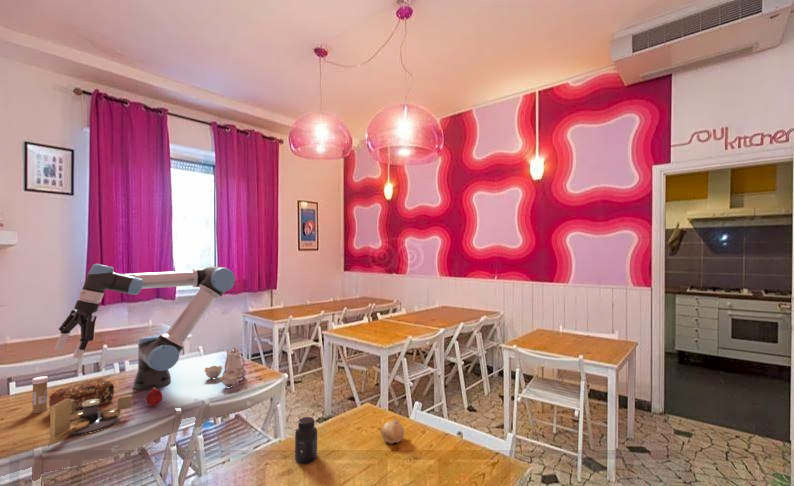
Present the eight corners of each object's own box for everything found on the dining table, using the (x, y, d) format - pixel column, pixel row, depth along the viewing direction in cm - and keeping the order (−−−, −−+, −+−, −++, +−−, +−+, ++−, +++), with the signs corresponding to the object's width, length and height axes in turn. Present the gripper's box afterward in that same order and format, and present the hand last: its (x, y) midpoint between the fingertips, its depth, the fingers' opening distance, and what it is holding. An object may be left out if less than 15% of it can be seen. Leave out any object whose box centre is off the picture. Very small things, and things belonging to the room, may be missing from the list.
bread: (62, 419, 146) (62, 393, 146) (47, 414, 150) (48, 388, 150) (115, 401, 163) (115, 378, 163) (100, 397, 167) (101, 374, 167)
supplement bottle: (290, 461, 118) (290, 422, 118) (304, 450, 124) (304, 413, 124) (308, 466, 115) (308, 427, 115) (321, 455, 121) (321, 417, 121)
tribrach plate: (132, 407, 156) (133, 387, 156) (130, 425, 141) (130, 402, 141) (63, 420, 144) (63, 398, 144) (51, 441, 129) (52, 416, 129)
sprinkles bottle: (46, 411, 152) (46, 378, 152) (30, 414, 149) (30, 380, 149) (48, 407, 155) (48, 374, 155) (33, 410, 153) (33, 377, 153)
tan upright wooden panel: (75, 423, 138) (76, 390, 138) (93, 422, 139) (93, 389, 139) (42, 444, 124) (43, 406, 124) (62, 443, 124) (62, 406, 124)
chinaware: (198, 382, 189) (195, 350, 188) (229, 370, 203) (226, 340, 202) (229, 395, 173) (226, 360, 172) (261, 381, 187) (258, 348, 186)
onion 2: (402, 448, 126) (402, 426, 126) (378, 445, 127) (378, 424, 128) (405, 436, 134) (405, 416, 134) (383, 434, 135) (383, 414, 135)
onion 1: (165, 405, 158) (165, 386, 158) (151, 410, 153) (151, 391, 153) (156, 402, 161) (156, 384, 161) (142, 408, 156) (143, 388, 156)
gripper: (62, 294, 157) (40, 346, 152) (96, 305, 147) (74, 361, 142) (82, 297, 164) (61, 347, 159) (116, 308, 153) (95, 361, 148)
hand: (67, 353), depth 150 cm, fingers open, 13 cm apart
